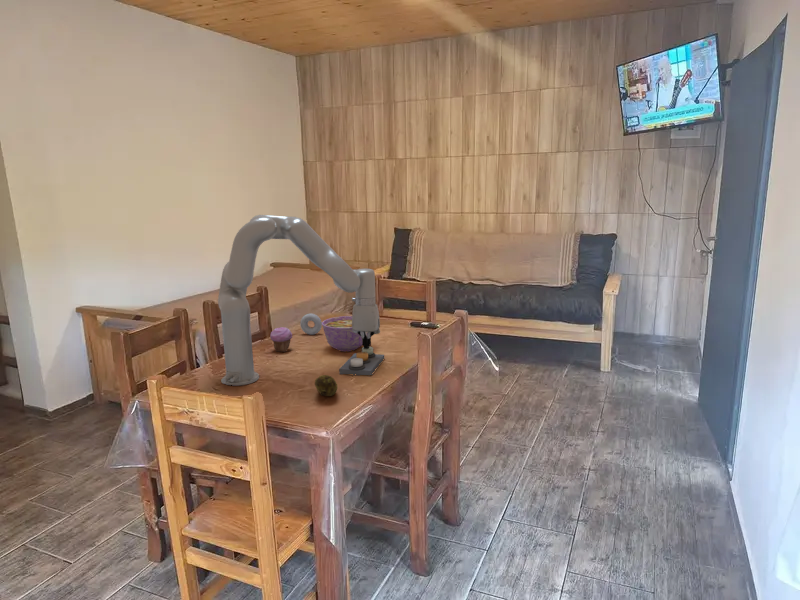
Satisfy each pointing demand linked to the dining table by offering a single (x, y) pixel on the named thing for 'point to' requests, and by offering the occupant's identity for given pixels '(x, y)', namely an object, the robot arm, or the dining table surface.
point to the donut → (311, 330)
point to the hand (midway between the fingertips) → (366, 347)
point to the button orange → (362, 355)
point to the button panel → (367, 366)
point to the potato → (326, 385)
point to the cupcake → (281, 339)
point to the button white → (356, 362)
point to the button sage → (368, 350)
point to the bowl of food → (341, 333)
